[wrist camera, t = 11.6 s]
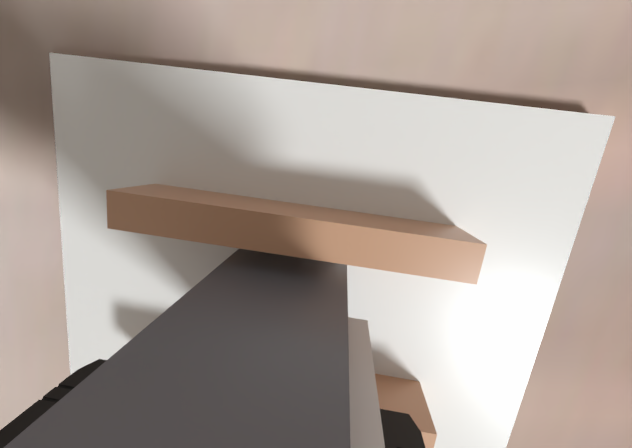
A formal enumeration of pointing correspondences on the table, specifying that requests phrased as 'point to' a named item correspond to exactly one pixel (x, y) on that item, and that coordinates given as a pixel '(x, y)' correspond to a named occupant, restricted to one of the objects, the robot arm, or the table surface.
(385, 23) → the table surface
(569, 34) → the table surface
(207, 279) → the connector plug
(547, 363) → the table surface
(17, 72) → the table surface
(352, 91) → the end holder
